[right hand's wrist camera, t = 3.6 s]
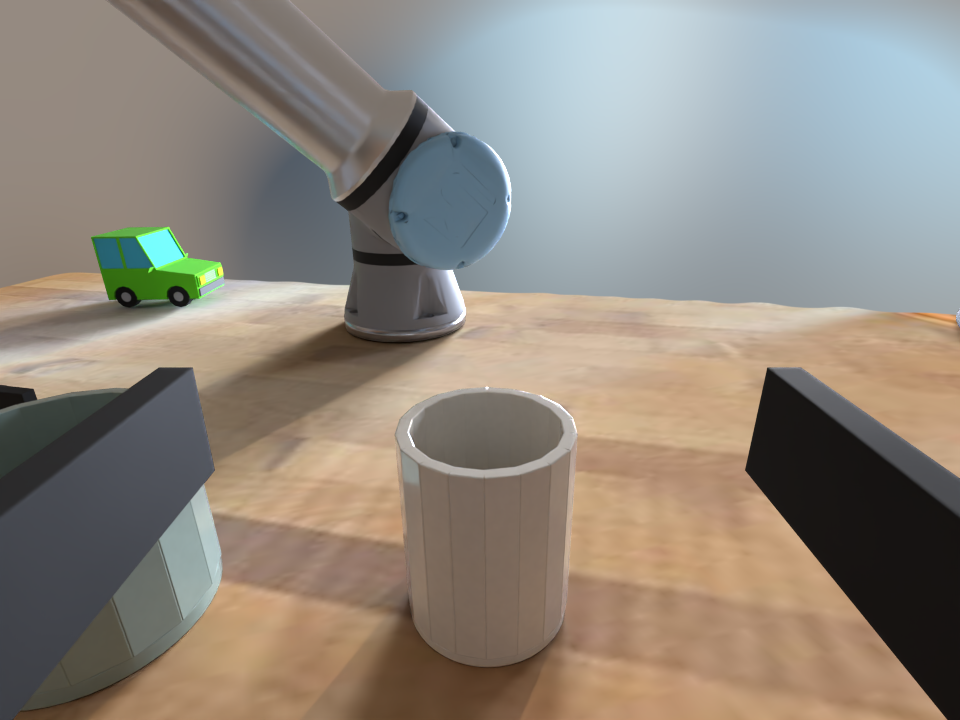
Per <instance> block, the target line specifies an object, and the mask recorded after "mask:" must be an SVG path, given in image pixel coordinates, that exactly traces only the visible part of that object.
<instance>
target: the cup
mask: <svg viewBox="0 0 960 720" xmlns="http://www.w3.org/2000/svg"><path fill="white" fill-rule="evenodd" d="M577 436H578V434H577V430H576V427H575V423H574V420H573V418H572V417H571V416H570V415H569V414H568V413H567V412H566V411H565V410H564V409H563V408H562V407H561V406H560V405H558V404H556V403H554V402H552V401H550V400H548V399H546V398H544V397H542V396H538V395H535V394H531V393H527V392H523V391H519V390H514V389H504V388H491V387H488V388H487V387H483V388H470V389H461V390H460V389H459V390H455V391H451V392H447V393H442V394H438V395H436V396H433V397H431V398H429V399H427V400H424V401H422V402H420V403H418V404H416V405H415V406H413V407H412V408H411V409H410V410H409V411H408V412H407V413H405V414H404V415H403V416H402V417H401V419H400V420H399V423H398V426H397V429H396V432H395V444H396V456H397V468H398V480H399V491H400V503H401V515H402V526H403V538H404V550H405V562H406V573H407V585H408V597H409V603H410V607H411V615H412V619H413V622H414V624H415V627H416V629H417V631H418V632H419V634H420V635H421V637H422V638H423V639H424V640H425V642H426V643H427V644H428V645H429V646H430V647H432V648H433V649H434V650H435V651H437V652H438V653H440V654H441V655H443V656H445V657H447V658H449V659H451V660H453V661H456V662H459V663H462V664H466V665H471V666H477V667H499V666H505V665H511V664H514V663H517V662H520V661H523V660H525V659H527V658H530V657H531V656H533V655H535V654H536V653H538V652H539V651H541V650H542V649H543V648H544V647H546V646H547V645H548V644H549V643H550V642H551V640H552V639H553V638H554V637H555V635H556V634H557V632H558V631H559V629H560V627H561V625H562V622H563V619H564V615H565V606H566V603H567V591H568V576H569V560H570V545H571V529H572V514H573V498H574V482H575V467H576V451H577Z"/></svg>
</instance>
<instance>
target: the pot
mask: <svg viewBox="0 0 960 720" xmlns="http://www.w3.org/2000/svg"><path fill="white" fill-rule="evenodd" d="M126 390H128V389H127V388H110V389H100V390H91V391H81V392H71V393H67V394H62V395H57V396H53V397H48V398H44V399H39V400H35V401H30V402H25V403H21V404H18V405H13V406H10V407H7V408H4V409H1V410H0V478H2V477H3V476H5V475H6V474H7V473H9V472H10V471H12V470H13V469H15V468H16V467H17V466H19V465H20V464H22V463H23V462H25V461H26V460H27V459H29V458H30V457H32V456H33V455H35V454H36V453H37V452H39V451H40V450H42V449H43V448H45V447H46V446H47V445H49V444H50V443H52V442H53V441H55V440H56V439H58V438H59V437H60V436H62V435H63V434H65V433H66V432H68V431H69V430H70V429H72V428H73V427H75V426H76V425H78V424H79V423H80V422H82V421H83V420H85V419H86V418H88V417H89V416H90V415H92V414H93V413H95V412H96V411H98V410H99V409H100V408H102V407H103V406H105V405H106V404H108V403H109V402H110V401H112V400H113V399H115V398H116V397H118V396H119V395H120V394H122V393H123V392H125V391H126ZM221 575H222V559H221V549H220V545H219V542H218V538H217V534H216V530H215V526H214V522H213V518H212V514H211V510H210V506H209V502H208V498H207V494H206V490H205V486H204V484H203V486H202V487H201V488H200V489H199V490H198V492H197V493H196V494H195V495H194V497H193V498H192V499H191V500H190V502H189V503H188V504H187V505H186V506H185V508H184V509H183V510H182V511H181V513H180V514H179V515H178V516H177V518H176V519H175V520H174V521H173V523H172V524H171V525H170V526H169V527H168V529H167V530H166V531H165V532H164V534H163V535H162V536H161V537H160V539H159V540H158V541H157V542H156V543H155V545H154V546H153V547H152V548H151V550H150V551H149V552H148V553H147V555H146V556H145V557H144V558H143V560H142V561H141V562H140V563H139V564H138V566H137V567H136V568H135V569H134V571H133V572H132V573H131V574H130V576H129V577H128V578H127V579H126V580H125V582H124V583H123V584H122V585H121V587H120V588H119V589H118V590H117V592H116V593H115V594H114V595H113V597H112V598H111V599H110V600H109V601H108V603H107V604H106V605H105V606H104V608H103V609H102V610H101V611H100V613H99V614H98V615H97V616H96V617H95V619H94V620H93V621H92V622H91V624H90V625H89V626H88V627H87V629H86V630H85V631H84V632H83V633H82V635H81V636H80V637H79V638H78V640H77V641H76V642H75V643H74V645H73V646H72V647H71V648H70V650H69V651H68V652H67V653H66V654H65V656H64V657H63V658H62V659H61V661H60V662H59V663H58V664H57V666H56V667H55V668H54V669H53V670H52V672H51V673H50V674H49V675H48V677H47V678H46V679H45V680H44V682H43V683H42V684H41V685H40V687H39V688H38V689H37V690H36V691H35V693H34V694H33V695H32V696H31V698H30V699H29V700H28V701H27V703H26V704H25V705H24V706H23V707H22V709H21V710H20V711H27V710H33V709H40V708H46V707H50V706H54V705H58V704H62V703H66V702H69V701H72V700H75V699H78V698H81V697H84V696H87V695H89V694H92V693H94V692H96V691H98V690H101V689H103V688H105V687H108V686H110V685H112V684H114V683H116V682H118V681H119V680H121V679H123V678H125V677H127V676H129V675H131V674H132V673H134V672H136V671H137V670H139V669H140V668H142V667H144V666H145V665H147V664H148V663H150V662H151V661H153V660H154V659H155V658H157V657H158V656H160V655H161V654H162V653H164V652H165V651H166V650H167V649H169V648H170V647H171V646H172V645H173V644H175V643H176V642H177V641H178V640H179V639H180V638H181V637H182V636H183V635H184V634H185V633H186V632H188V631H189V630H190V629H191V628H192V626H193V625H194V624H195V623H196V622H197V621H198V619H199V618H200V617H201V616H202V615H203V613H204V612H205V610H206V609H207V607H208V606H209V605H210V603H211V601H212V599H213V597H214V596H215V594H216V592H217V589H218V586H219V583H220V580H221Z"/></svg>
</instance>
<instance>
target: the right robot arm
mask: <svg viewBox="0 0 960 720" xmlns="http://www.w3.org/2000/svg"><path fill="white" fill-rule="evenodd" d="M956 321H957V324H958V326H959V327H960V309H959V311H958V313H957V316H956ZM214 471H215V469H214V464H213V460H212V455H211V450H210V446H209V441H208V436H207V432H206V427H205V423H204V418H203V413H202V409H201V404H200V400H199V395H198V390H197V386H196V381H195V376H194V372H193V368H158V369H156V370H155V371H153V372H152V373H151V374H149V375H148V376H146V377H145V378H143V379H142V380H141V381H139V382H138V383H136V384H135V385H133V386H132V387H131V388H129V389H128V390H126V391H125V392H123V393H122V394H120V395H119V396H118V397H116V398H115V399H113V400H112V401H110V402H109V403H108V404H106V405H105V406H103V407H102V408H100V409H99V410H98V411H96V412H95V413H93V414H92V415H90V416H89V417H88V418H86V419H85V420H83V421H82V422H80V423H79V424H78V425H76V426H75V427H73V428H72V429H70V430H69V431H68V432H66V433H65V434H63V435H62V436H60V437H59V438H58V439H56V440H55V441H53V442H52V443H50V444H49V445H47V446H46V447H45V448H43V449H42V450H40V451H39V452H37V453H36V454H35V455H33V456H32V457H30V458H29V459H27V460H26V461H25V462H23V463H22V464H20V465H19V466H17V467H16V468H15V469H13V470H12V471H10V472H9V473H7V474H6V475H5V476H3V477H2V478H0V720H13V719H14V717H15V716H16V715H17V714H18V712H19V711H20V710H21V709H22V707H23V706H24V705H25V704H26V703H27V701H28V700H29V699H30V698H31V696H32V695H33V694H34V693H35V691H36V690H37V689H38V688H39V687H40V685H41V684H42V683H43V682H44V680H45V679H46V678H47V677H48V675H49V674H50V673H51V672H52V670H53V669H54V668H55V667H56V666H57V664H58V663H59V662H60V661H61V659H62V658H63V657H64V656H65V654H66V653H67V652H68V651H69V650H70V648H71V647H72V646H73V645H74V643H75V642H76V641H77V640H78V638H79V637H80V636H81V635H82V633H83V632H84V631H85V630H86V629H87V627H88V626H89V625H90V624H91V622H92V621H93V620H94V619H95V617H96V616H97V615H98V614H99V613H100V611H101V610H102V609H103V608H104V606H105V605H106V604H107V603H108V601H109V600H110V599H111V598H112V597H113V595H114V594H115V593H116V592H117V590H118V589H119V588H120V587H121V585H122V584H123V583H124V582H125V580H126V579H127V578H128V577H129V576H130V574H131V573H132V572H133V571H134V569H135V568H136V567H137V566H138V564H139V563H140V562H141V561H142V560H143V558H144V557H145V556H146V555H147V553H148V552H149V551H150V550H151V548H152V547H153V546H154V545H155V543H156V542H157V541H158V540H159V539H160V537H161V536H162V535H163V534H164V532H165V531H166V530H167V529H168V527H169V526H170V525H171V524H172V523H173V521H174V520H175V519H176V518H177V516H178V515H179V514H180V513H181V511H182V510H183V509H184V508H185V506H186V505H187V504H188V503H189V502H190V500H191V499H192V498H193V497H194V495H195V494H196V493H197V492H198V490H199V489H200V488H201V487H202V486H203V484H204V483H205V482H206V481H207V479H208V478H209V477H210V476H211V474H212V473H213V472H214ZM745 471H746V472H747V473H748V474H749V476H750V477H751V478H752V479H753V481H754V482H755V483H756V484H757V486H758V487H759V488H760V489H761V490H762V492H763V493H764V494H765V495H766V497H767V498H768V499H769V500H770V502H771V503H772V504H773V505H774V506H775V508H776V509H777V510H778V511H779V513H780V514H781V515H782V516H783V518H784V519H785V520H786V521H787V523H788V524H789V525H790V526H791V527H792V529H793V530H794V531H795V532H796V534H797V535H798V536H799V537H800V539H801V540H802V541H803V542H804V543H805V545H806V546H807V547H808V548H809V550H810V551H811V552H812V553H813V555H814V556H815V557H816V558H817V560H818V561H819V562H820V563H821V564H822V566H823V567H824V568H825V569H826V571H827V572H828V573H829V574H830V576H831V577H832V578H833V579H834V580H835V582H836V583H837V584H838V585H839V587H840V588H841V589H842V590H843V592H844V593H845V594H846V595H847V597H848V598H849V599H850V600H851V601H852V603H853V604H854V605H855V606H856V608H857V609H858V610H859V611H860V613H861V614H862V615H863V616H864V617H865V619H866V620H867V621H868V622H869V624H870V625H871V626H872V627H873V629H874V630H875V631H876V632H877V633H878V635H879V636H880V637H881V638H882V640H883V641H884V642H885V643H886V645H887V646H888V647H889V648H890V650H891V651H892V652H893V653H894V654H895V656H896V657H897V658H898V659H899V661H900V662H901V663H902V664H903V666H904V667H905V668H906V669H907V670H908V672H909V673H910V674H911V675H912V677H913V678H914V679H915V680H916V682H917V683H918V684H919V685H920V687H921V688H922V689H923V690H924V691H925V693H926V694H927V695H928V696H929V698H930V699H931V700H932V701H933V703H934V704H935V705H936V706H937V707H938V709H939V710H940V711H941V712H942V714H943V715H944V716H945V717H946V719H947V720H960V478H958V477H957V476H955V475H954V474H953V473H951V472H950V471H948V470H947V469H945V468H944V467H943V466H941V465H940V464H938V463H937V462H935V461H934V460H933V459H931V458H930V457H928V456H927V455H925V454H924V453H923V452H921V451H920V450H918V449H917V448H915V447H914V446H913V445H911V444H910V443H908V442H907V441H905V440H904V439H902V438H901V437H900V436H898V435H897V434H895V433H894V432H892V431H891V430H890V429H888V428H887V427H885V426H884V425H882V424H881V423H880V422H878V421H877V420H875V419H874V418H872V417H871V416H870V415H868V414H867V413H865V412H864V411H862V410H861V409H860V408H858V407H857V406H855V405H854V404H852V403H851V402H850V401H848V400H847V399H845V398H844V397H842V396H841V395H840V394H838V393H837V392H835V391H834V390H832V389H831V388H829V387H828V386H827V385H825V384H824V383H822V382H821V381H819V380H818V379H817V378H815V377H814V376H812V375H811V374H809V373H808V372H807V371H805V370H804V369H802V368H767V372H766V376H765V381H764V386H763V390H762V395H761V400H760V404H759V409H758V413H757V418H756V423H755V427H754V432H753V436H752V441H751V446H750V450H749V455H748V460H747V464H746V469H745Z"/></svg>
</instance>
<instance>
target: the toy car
mask: <svg viewBox="0 0 960 720" xmlns="http://www.w3.org/2000/svg"><path fill="white" fill-rule="evenodd" d="M91 239H92V242H93V246H94V249H95V253H96V256H97V260H98V263H99V267H100V270H101V274H102V277H103V281H104V284H105V288H106V291H107V295H108V298H109V300H116V299H117V300H118V302H119V303H120V304H121V305H123V306H125V307H132V306H135V305H137V304H139V302H140V301H141V300H152V299H169V300H170V302H171V303H173V304H174V305H175V306H179V307H183V306H186V305H188V304H190V302H191V301H192V300H193V299H198V298H201V297H203V296H205V295H206V294H208V293H210V292H212V291H214V290H215V289H217V288H219V287H221V286H223V285H224V284H225V283H224V277H223V271H222V266H221V264H220V263H219V262H212V261H205V260H199V259H192V258H187V255H188V253H187V254H184V252H183V250H182V249H181V247H180V245H179V244H178V242H177V240H176V239H175V237H174V235H173V234H172V232H171V230H170V228H169V227H136V228H125V229H121V230H117V231H113V232H109V233H105V234H101V235H97V236H93V237H91Z"/></svg>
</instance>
